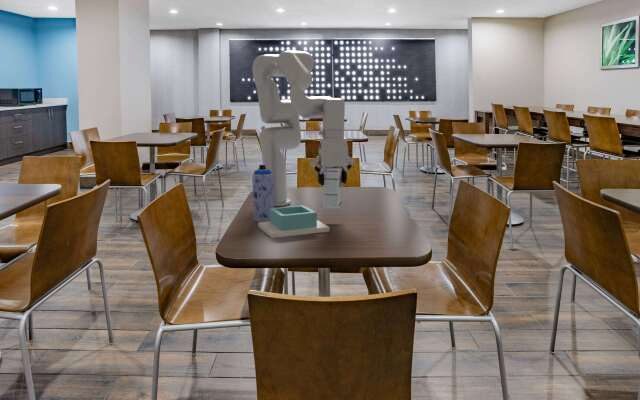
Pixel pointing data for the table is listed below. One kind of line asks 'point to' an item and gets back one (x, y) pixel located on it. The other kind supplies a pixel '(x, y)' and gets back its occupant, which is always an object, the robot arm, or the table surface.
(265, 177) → the aerosol can
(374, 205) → the table surface
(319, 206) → the table surface
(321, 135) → the robot arm
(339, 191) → the syrup box
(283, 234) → the socket board
